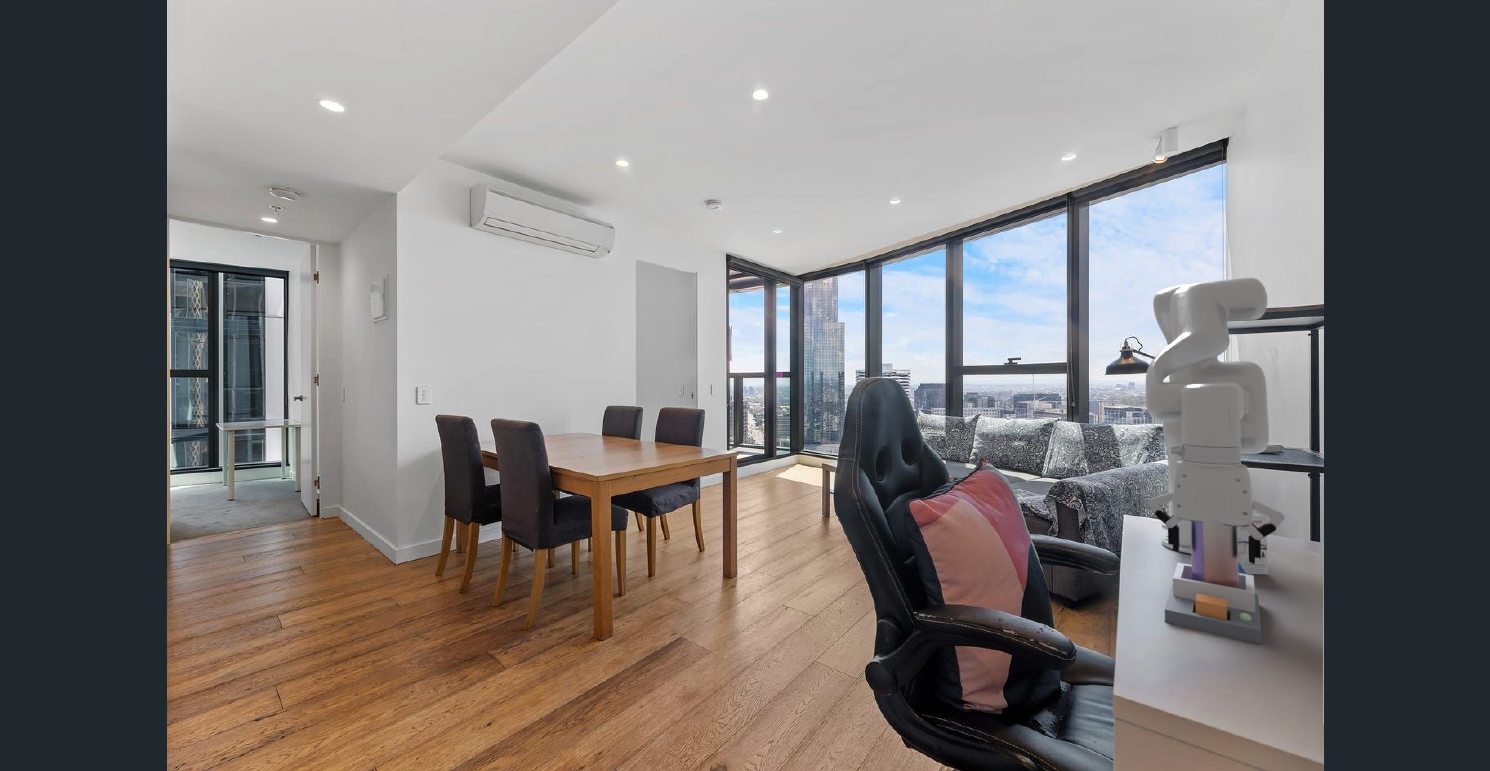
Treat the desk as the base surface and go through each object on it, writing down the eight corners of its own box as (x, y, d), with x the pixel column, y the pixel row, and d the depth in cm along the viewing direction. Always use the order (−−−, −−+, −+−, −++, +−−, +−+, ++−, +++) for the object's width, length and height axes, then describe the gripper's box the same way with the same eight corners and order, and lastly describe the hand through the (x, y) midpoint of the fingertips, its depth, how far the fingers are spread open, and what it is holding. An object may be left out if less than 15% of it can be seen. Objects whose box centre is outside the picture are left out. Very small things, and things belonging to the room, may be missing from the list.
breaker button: (1197, 612, 85) (1196, 593, 85) (1227, 619, 82) (1226, 599, 82) (1195, 620, 82) (1195, 600, 82) (1226, 627, 79) (1226, 606, 79)
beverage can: (1184, 590, 90) (1182, 505, 90) (1205, 585, 92) (1203, 501, 92) (1225, 604, 85) (1223, 512, 85) (1247, 597, 87) (1245, 508, 87)
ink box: (1221, 574, 102) (1220, 515, 102) (1202, 565, 107) (1200, 509, 107) (1269, 575, 101) (1268, 515, 101) (1247, 566, 106) (1245, 509, 106)
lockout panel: (1175, 588, 96) (1174, 561, 96) (1258, 604, 89) (1257, 575, 89) (1164, 621, 83) (1164, 590, 83) (1261, 644, 76) (1260, 610, 76)
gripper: (1144, 454, 92) (1146, 550, 92) (1285, 462, 80) (1287, 573, 80) (1149, 449, 97) (1151, 540, 97) (1282, 457, 85) (1284, 560, 85)
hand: (1212, 555), depth 89 cm, fingers open, 9 cm apart
